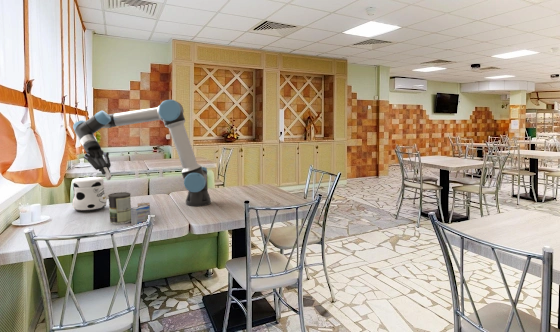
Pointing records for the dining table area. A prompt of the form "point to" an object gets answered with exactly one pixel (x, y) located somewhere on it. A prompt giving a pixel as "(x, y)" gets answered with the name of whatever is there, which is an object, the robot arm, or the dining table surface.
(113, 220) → the coffee can
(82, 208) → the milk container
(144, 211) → the medicine box
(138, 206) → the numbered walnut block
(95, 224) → the dining table surface
